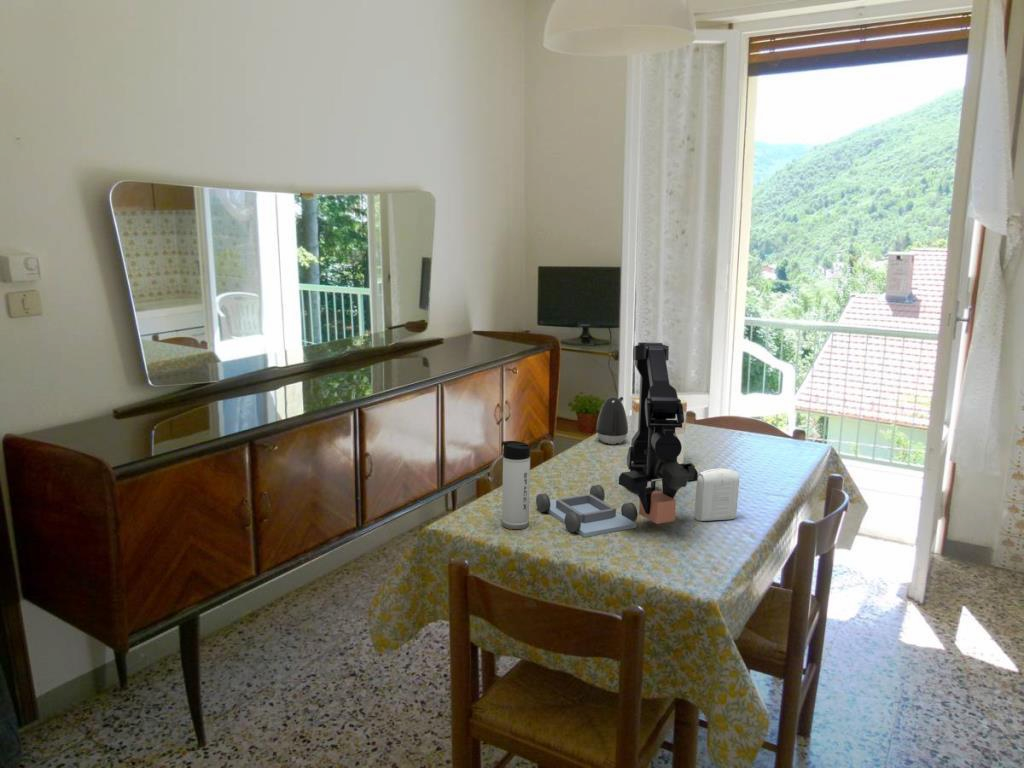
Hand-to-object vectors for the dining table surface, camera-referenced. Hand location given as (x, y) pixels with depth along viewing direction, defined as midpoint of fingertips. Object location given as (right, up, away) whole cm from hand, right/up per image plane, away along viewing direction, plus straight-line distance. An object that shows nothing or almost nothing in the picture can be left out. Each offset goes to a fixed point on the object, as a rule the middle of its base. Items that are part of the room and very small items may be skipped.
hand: (656, 511), depth 177 cm
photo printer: (+15, -3, +6) cm, 17 cm away
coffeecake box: (+9, +6, +49) cm, 50 cm away
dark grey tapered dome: (-1, +11, +71) cm, 72 cm away
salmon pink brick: (0, -1, 0) cm, 1 cm away
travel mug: (-33, -3, 0) cm, 33 cm away
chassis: (-16, -2, +6) cm, 17 cm away
